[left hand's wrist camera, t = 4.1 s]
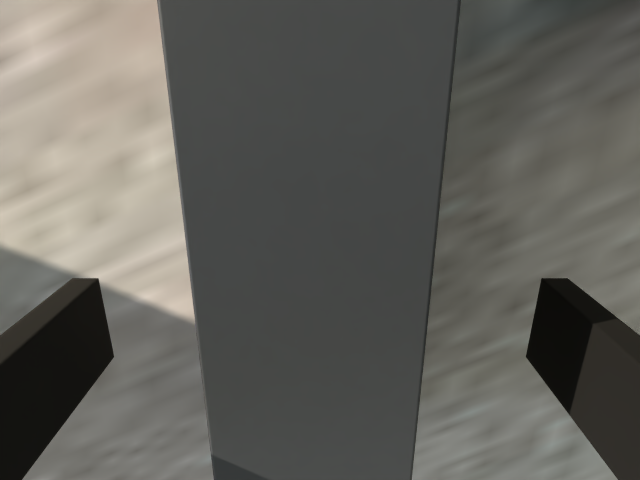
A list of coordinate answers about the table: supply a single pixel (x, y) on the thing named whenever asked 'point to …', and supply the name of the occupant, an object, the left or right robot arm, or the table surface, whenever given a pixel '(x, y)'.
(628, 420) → the left robot arm
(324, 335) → the beam
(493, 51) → the table surface
